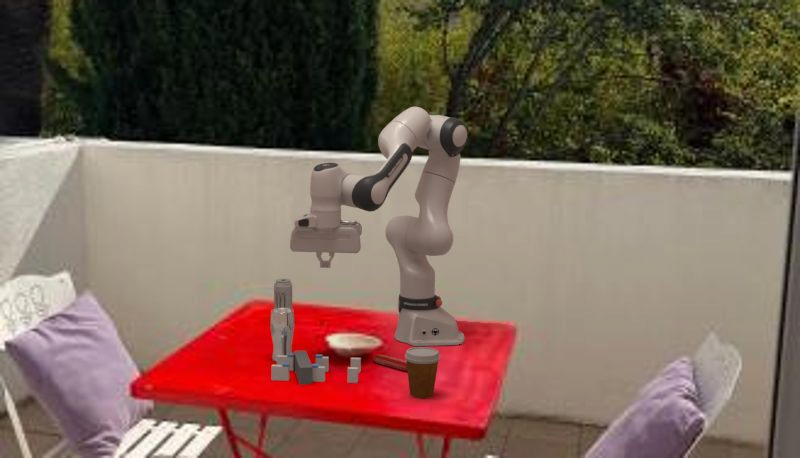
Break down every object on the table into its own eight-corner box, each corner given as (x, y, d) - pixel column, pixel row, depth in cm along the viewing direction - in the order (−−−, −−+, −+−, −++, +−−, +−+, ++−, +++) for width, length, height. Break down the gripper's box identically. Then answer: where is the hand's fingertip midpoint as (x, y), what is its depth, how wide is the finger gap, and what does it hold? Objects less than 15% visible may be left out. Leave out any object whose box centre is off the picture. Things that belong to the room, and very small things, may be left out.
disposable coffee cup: (402, 388, 279) (403, 346, 276) (437, 388, 279) (438, 346, 277) (405, 400, 269) (406, 357, 267) (441, 400, 270) (442, 356, 268)
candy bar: (419, 372, 294) (420, 362, 293) (411, 375, 291) (411, 365, 291) (377, 360, 304) (378, 351, 304) (369, 363, 301) (369, 353, 301)
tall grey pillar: (305, 367, 297) (305, 350, 296) (312, 384, 281) (312, 367, 280) (293, 367, 296) (293, 351, 295) (299, 385, 281) (299, 367, 280)
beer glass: (290, 363, 299) (290, 314, 296) (267, 361, 300) (267, 312, 297) (297, 356, 305) (297, 308, 303) (274, 355, 307) (274, 306, 304)
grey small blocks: (360, 371, 293) (360, 355, 292) (357, 382, 283) (357, 367, 282) (277, 368, 294) (277, 353, 293) (271, 380, 284) (271, 364, 283)
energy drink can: (271, 325, 339) (271, 281, 336) (277, 321, 345) (276, 277, 342) (289, 326, 338) (289, 282, 335) (294, 322, 344) (294, 278, 341)
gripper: (362, 219, 294) (362, 265, 297) (292, 217, 295) (292, 264, 298) (360, 222, 288) (360, 270, 291) (289, 220, 289) (289, 268, 291)
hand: (325, 267), depth 294 cm, fingers closed
